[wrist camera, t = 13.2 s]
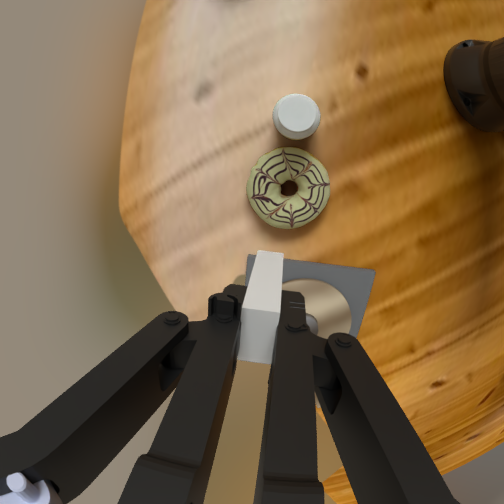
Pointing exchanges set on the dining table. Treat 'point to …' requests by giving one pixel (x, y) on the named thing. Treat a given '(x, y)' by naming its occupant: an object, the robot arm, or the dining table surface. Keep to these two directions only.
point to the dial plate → (331, 282)
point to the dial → (322, 308)
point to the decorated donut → (275, 174)
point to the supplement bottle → (296, 116)
